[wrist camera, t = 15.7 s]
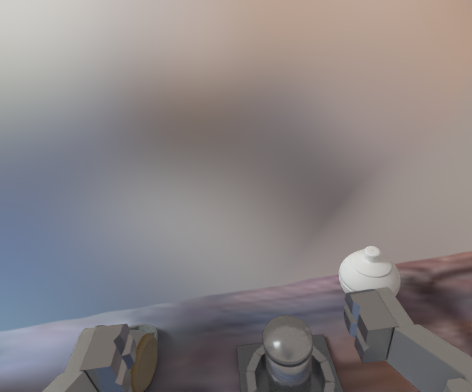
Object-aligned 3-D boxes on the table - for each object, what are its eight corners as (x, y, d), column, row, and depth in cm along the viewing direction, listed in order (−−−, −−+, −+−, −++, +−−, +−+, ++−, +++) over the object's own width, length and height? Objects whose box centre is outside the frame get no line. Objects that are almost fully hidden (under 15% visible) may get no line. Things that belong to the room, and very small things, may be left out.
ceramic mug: (145, 409, 37) (127, 373, 33) (85, 403, 38) (60, 368, 34) (172, 332, 46) (160, 296, 42) (122, 329, 47) (106, 295, 43)
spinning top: (335, 330, 43) (341, 268, 37) (336, 288, 49) (340, 229, 43) (396, 340, 41) (412, 275, 35) (388, 295, 47) (401, 234, 41)
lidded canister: (272, 413, 34) (266, 364, 29) (264, 367, 39) (258, 318, 34) (317, 406, 34) (320, 356, 29) (304, 361, 39) (305, 311, 34)
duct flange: (246, 456, 32) (243, 445, 31) (237, 348, 42) (235, 337, 41) (359, 440, 32) (361, 428, 31) (322, 337, 42) (323, 325, 41)
